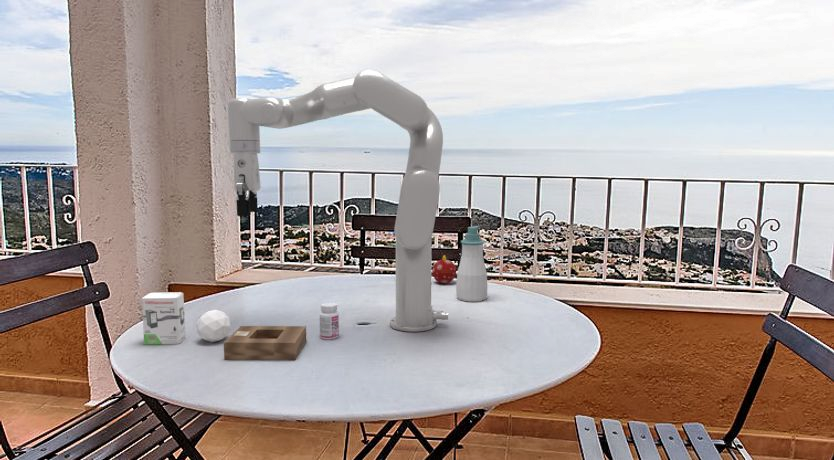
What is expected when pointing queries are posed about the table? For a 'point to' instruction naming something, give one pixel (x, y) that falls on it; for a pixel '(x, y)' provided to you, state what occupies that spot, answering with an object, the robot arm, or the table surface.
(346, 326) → the table surface
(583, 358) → the table surface
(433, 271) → the christmas ornament
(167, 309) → the ink box
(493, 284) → the table surface
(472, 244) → the soap bottle
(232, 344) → the brown flat recessed slab
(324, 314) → the pill bottle
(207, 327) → the geometric ball
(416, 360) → the table surface
